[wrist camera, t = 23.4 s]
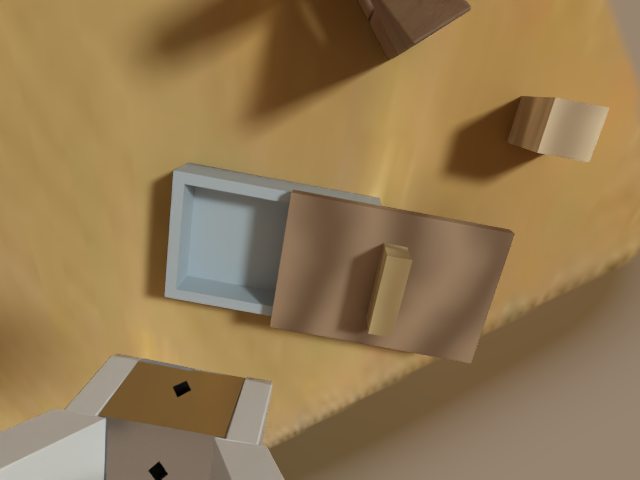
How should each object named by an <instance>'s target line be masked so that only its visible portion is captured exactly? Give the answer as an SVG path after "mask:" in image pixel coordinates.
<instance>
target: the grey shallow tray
mask: <svg viewBox="0 0 640 480" xmlns="http://www.w3.org/2000/svg"><path fill="white" fill-rule="evenodd" d="M292 190H298V191H304V192H309V193H315V194H320V195H325V196H331V197H336V198H342V199H347V200H352V201H358V202H363V203H369V204H374V205H379V206H382V205H381V202H380V199H379V198H375V197H370V196H365V195H359V194H354V193H348V192H343V191H338V190H332V189H327V188H321V187H316V186H311V185H305V184H300V183H295V182H289V181H284V180H278V179H273V178H268V177H262V176H257V175H251V174H246V173H241V172H235V171H230V170H224V169H219V168H214V167H208V166H203V165H198V164H192V163H188V164H185V165H183V166H181V167H179V168H177V169H175V170H173V184H172V198H171V212H170V226H169V240H168V254H167V268H166V282H165V296H164V297H168V298H174V299H179V300H185V301H190V302H196V303H201V304H207V305H212V306H218V307H223V308H229V309H234V310H240V311H245V312H251V313H256V314H262V315H267V316H272V310H273V304H274V298H275V291H276V285H277V279H278V273H279V267H280V260H281V254H282V248H283V242H284V235H285V229H286V223H287V217H288V210H289V204H290V198H291V192H292Z"/></svg>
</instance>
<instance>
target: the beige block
mask: <svg viewBox="0 0 640 480" xmlns="http://www.w3.org/2000/svg"><path fill="white" fill-rule="evenodd" d="M608 111H609V108H608V107H602V106H597V105H592V104H586V103H581V102H575V101H570V100H565V99H559V98H549V97H528V96H521V99H520V102H519V105H518V109H517V112H516V115H515V118H514V122H513V125H512V128H511V131H510V135H509V138H508V141H507V143H509V144H512V145H515V146H518V147H521V148H524V149H527V150H530V151H533V152H536V153H541V154H546V155H551V156H557V157H562V158H568V159H573V160H579V161H584V162H590V159H591V157H592V154H593V151H594V148H595V146H596V143H597V140H598V138H599V135H600V132H601V130H602V127H603V124H604V122H605V119H606V116H607V113H608Z"/></svg>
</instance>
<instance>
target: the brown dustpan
mask: <svg viewBox="0 0 640 480" xmlns="http://www.w3.org/2000/svg"><path fill="white" fill-rule="evenodd" d="M357 1H358V3H359V5H360V6H361V8H362V10H363V12H364V14H365V16H366V18H368V19H370V26H371V28H372V30H373V31H374V33H375V35H376V37H377V39H378V41H379V43H380V45H381V47H382V49H383V51H384V53H385V54H386V56H387V58H389V59H393V58H394V57H396V56H398V55H400V54H401V53H403V52H405V51H406V50H408V49H409V48H411V47H412V46H414V45H416V44H417V43H419V42H420V41H422V40H424V39H425V38H427V37H428V36H430V35H432V34H433V33H435V32H436V31H438V30H439V29H441V28H442V27H444V26H446V25H447V24H449V23H450V22H452V21H454V20H455V19H457V18H458V17H460V16H461V15H463V14H465V13H466V12H468V11H469V10H470V9H471V6H470V5H469V3H468V2H467V1H466V0H357Z"/></svg>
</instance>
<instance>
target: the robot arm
mask: <svg viewBox="0 0 640 480" xmlns="http://www.w3.org/2000/svg"><path fill="white" fill-rule="evenodd" d="M272 386H273V383H272V381H268V380H261V379H255V378H248V377H247V378H242V377H236V376H230V375H225V374H219V373H213V372H208V371H202V370H196V369H193V368H188V367H183V366H178V365H173V364H169V363H164V362H159V361H154V360H149V359H141V358H138V357H132V356H127V355H122V354H115V355H113V356H111V357H110V358H109V359H108V360H107V361H106V362H105V363H104V365H103V366H102V367H101V368H100V369H99V370H98V371H97V373H96V374H95V375H94V376H93V377H92V378H91V379H90V381H89V382H88V383H87V384H86V385H85V386H84V388H83V389H82V390H81V391H80V392H79V393H78V394H77V396H76V397H75V398H74V399H73V400H72V401H71V402H70V404H69V405H68V406H67V407H66V408H65V409H64V410H59V409H53V410H51V411H49V412H46V413H44V414H42V415H39V416H37V417H35V418H32V419H30V420H28V421H25V422H23V423H20V424H18V425H16V426H13V427H11V428H9V429H6V430H4V431H2V432H0V480H284V478H283V476H282V475H281V473H280V471H279V469H278V467H277V465H276V463H275V461H274V460H273V458H272V456H271V454H270V452H269V450H268V448H267V447H266V446H262V445H263V439H264V434H265V428H266V422H267V416H268V410H269V405H270V399H271V393H272Z"/></svg>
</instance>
